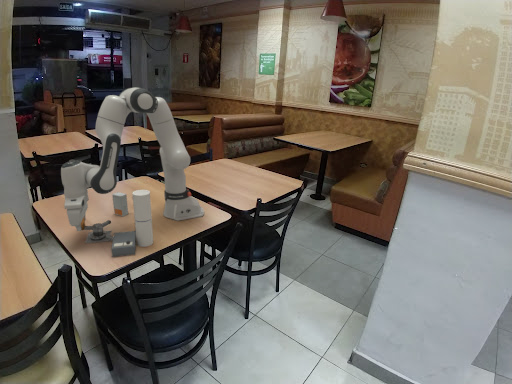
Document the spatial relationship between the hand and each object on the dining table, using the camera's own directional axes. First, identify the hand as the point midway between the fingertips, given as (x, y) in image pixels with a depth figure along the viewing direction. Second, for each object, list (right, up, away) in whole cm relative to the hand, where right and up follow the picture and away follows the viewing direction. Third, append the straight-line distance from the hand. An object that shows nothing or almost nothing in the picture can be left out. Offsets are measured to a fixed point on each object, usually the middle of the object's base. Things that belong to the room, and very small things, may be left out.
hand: (81, 225), depth 138 cm
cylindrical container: (+28, -8, +2) cm, 30 cm away
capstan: (+4, -5, +4) cm, 8 cm away
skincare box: (+6, +3, +28) cm, 29 cm away
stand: (+13, -8, 0) cm, 16 cm away
